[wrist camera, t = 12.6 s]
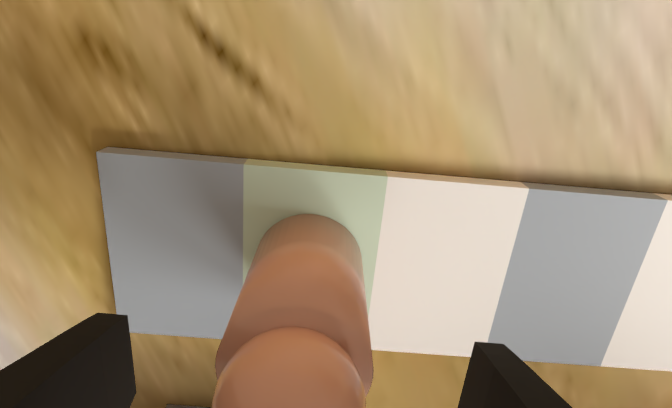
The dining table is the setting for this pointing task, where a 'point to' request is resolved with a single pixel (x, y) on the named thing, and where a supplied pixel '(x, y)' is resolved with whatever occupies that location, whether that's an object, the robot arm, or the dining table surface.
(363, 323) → the pawn
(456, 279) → the board
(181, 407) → the die
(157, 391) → the dining table surface
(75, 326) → the robot arm
